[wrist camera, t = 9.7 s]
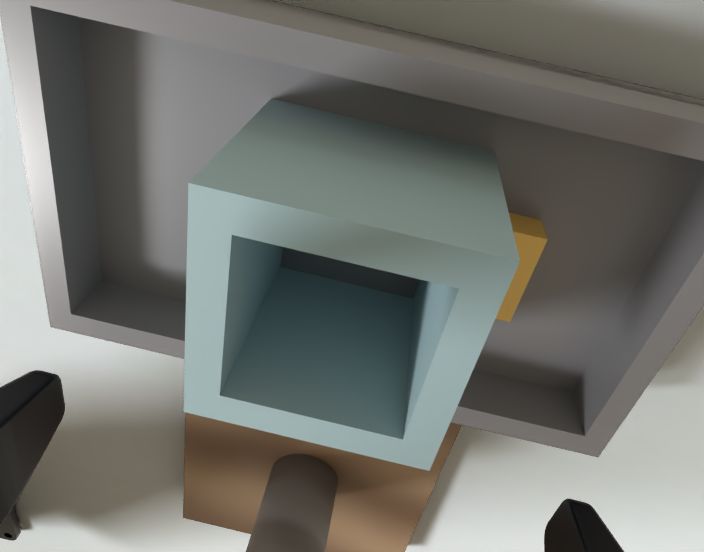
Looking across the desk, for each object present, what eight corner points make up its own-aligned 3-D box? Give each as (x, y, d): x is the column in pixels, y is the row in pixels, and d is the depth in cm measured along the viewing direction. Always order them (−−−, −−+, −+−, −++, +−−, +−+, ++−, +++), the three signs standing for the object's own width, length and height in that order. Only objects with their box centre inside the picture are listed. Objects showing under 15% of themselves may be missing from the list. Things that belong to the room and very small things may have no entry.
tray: (579, 393, 21) (598, 457, 18) (96, 279, 21) (50, 326, 18) (749, 110, 15) (812, 148, 12) (66, -47, 15) (-9, -41, 12)
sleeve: (564, 166, 15) (624, 286, 10) (489, 338, 19) (506, 489, 14) (271, 98, 15) (188, 183, 10) (251, 282, 19) (183, 411, 14)
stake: (398, 550, 28) (385, 729, 22) (190, 500, 28) (119, 664, 22) (461, 404, 22) (469, 596, 16) (196, 341, 22) (99, 506, 16)
